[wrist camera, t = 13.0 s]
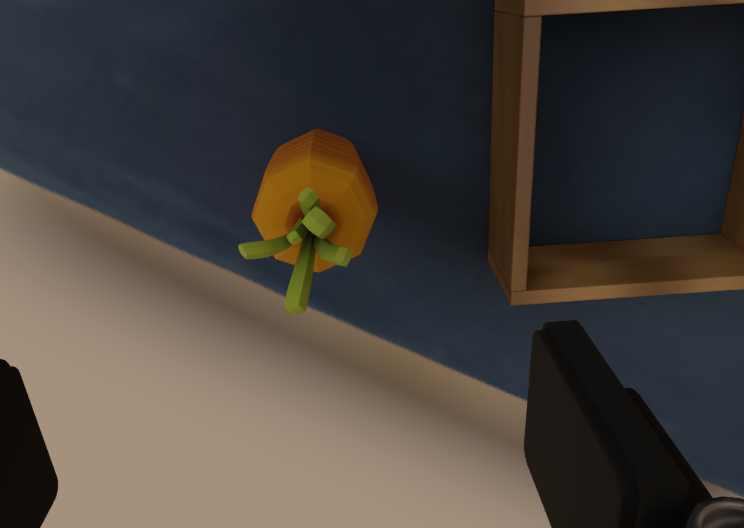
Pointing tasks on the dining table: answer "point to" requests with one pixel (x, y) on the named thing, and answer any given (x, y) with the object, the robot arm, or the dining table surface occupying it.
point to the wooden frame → (595, 259)
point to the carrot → (312, 209)
